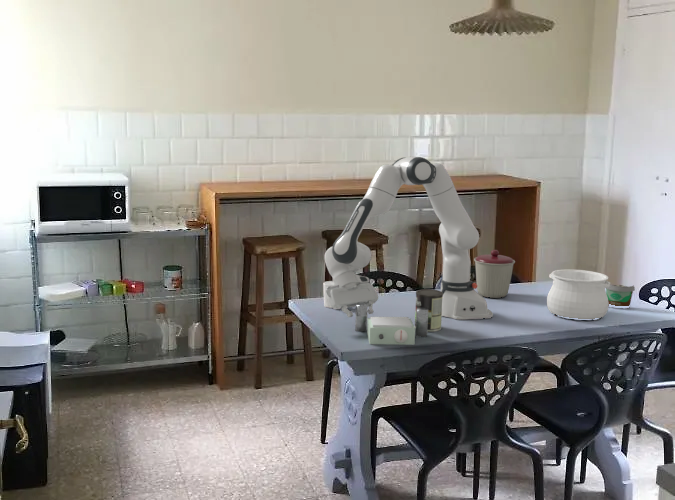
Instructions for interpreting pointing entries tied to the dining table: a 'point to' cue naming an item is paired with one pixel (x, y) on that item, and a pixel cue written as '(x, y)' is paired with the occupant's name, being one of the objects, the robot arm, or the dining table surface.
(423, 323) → the spacer
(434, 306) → the coffee can
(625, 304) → the food container
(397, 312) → the dining table surface
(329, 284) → the white cup
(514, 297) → the dining table surface
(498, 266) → the canister
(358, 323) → the cylinder
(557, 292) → the pot
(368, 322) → the scale
